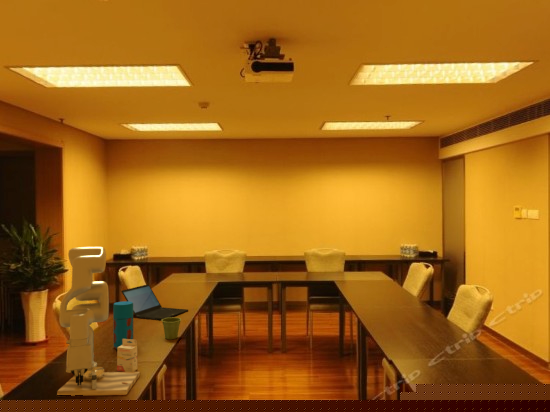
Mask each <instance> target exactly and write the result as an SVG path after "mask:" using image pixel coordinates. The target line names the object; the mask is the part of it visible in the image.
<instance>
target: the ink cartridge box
mask: <svg viewBox="0 0 550 412" xmlns="http://www.w3.org/2000/svg"><path fill="white" fill-rule="evenodd" d="M127 341H130V342H132V343H127ZM122 342H123V345H121V346H119V347H117V349H116V355H117V358H116V366H117V367H116V372H136V371H137V370H138V341H137V339H133V340H132V339H122Z"/></svg>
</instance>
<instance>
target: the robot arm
mask: <svg viewBox="0 0 550 412" xmlns="http://www.w3.org/2000/svg"><path fill="white" fill-rule="evenodd" d="M67 255H68V260H69V264H70V265H71V269H72V270H71V288H70V289H68V291H67V292H66V293H65V295H64V296H63V297H62V298H61V302H60V304H59V320H58V321H59V325H60V326H61V327H63V328H69V339H68V340H66V341H65V343H66V345H68V344H69V345H68V347H67V350H66V351H67V352H66V368H65V372H66V373H68V374H70V373H71V374H72V375H73V376H74V375H75V376H76V383H77V386H78V385H79V373H80V385H81V382H83V375H84V374H85V373H86V372H87V371H88V370H91V369H93V367H98V363H97V361H94V359H95V354H94V353H95V347H94V346H95V345H94V343H95V342H94V337H95V335H94V334H95V333H94V330H93V329H94V328H92V326H91V325H92V324H93V323H94V324H95V323H102V322H106V321H107V320H108V319H109V315H110V312H109V309H110V306H109V305H110V304H109V295H110V294H109V285H108V283H107V281H103V280H99V281H98V280H97V281H96V280H93V279H94V277H93V276H94V275H93V274H97V273H98V274H101V273H103V272H104V271H105V269H106V263H107V251H106V249H105V247H103V246H80V247H78V246H77V247H73V248H70V249H69V250H68V252H67ZM74 299H75V300H76V301H79V302H87V303H81V304H80V303H79V304H76V305H74V306H72V308H71V309H68V304H69V303H70V302H71V301H72V300H74ZM88 301H97V302H93V303H92V302H89V303H88Z"/></svg>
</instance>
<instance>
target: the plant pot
mask: <svg viewBox="0 0 550 412" xmlns="http://www.w3.org/2000/svg"><path fill="white" fill-rule="evenodd" d="M181 321H182V318H180V317H175V316H174V317H171V318H164V319H162V320H161V322H162V325H163V332H164V338H165V339H166V340H174V339H175V340H176V339H177V338H178V335H179V331H180V330H179V329H180V324H181Z"/></svg>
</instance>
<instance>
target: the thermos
mask: <svg viewBox="0 0 550 412" xmlns="http://www.w3.org/2000/svg"><path fill="white" fill-rule="evenodd" d="M112 307H113V309H112V311H113V317H112V318H113V322H112V323H113V324H112V325H113V326H112V327H113V328H112V329H113V332H112V333H113V336H112V337H113V338H112V339H113V349H114V350H117V347H119V346H121V345H123V342H122V339H132V340H134V313H133V302H129V301H127V300H125V301H124V300H123V301H118V302H114V303H113V306H112ZM127 343H132V342H130V341H127Z"/></svg>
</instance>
